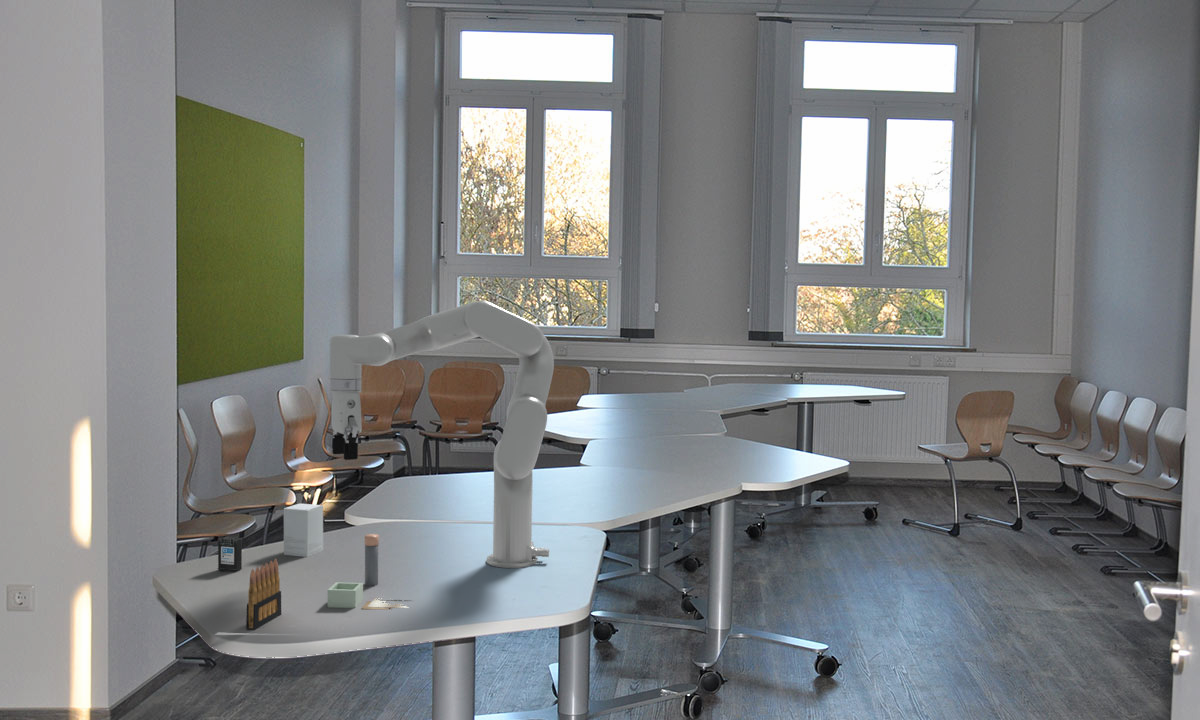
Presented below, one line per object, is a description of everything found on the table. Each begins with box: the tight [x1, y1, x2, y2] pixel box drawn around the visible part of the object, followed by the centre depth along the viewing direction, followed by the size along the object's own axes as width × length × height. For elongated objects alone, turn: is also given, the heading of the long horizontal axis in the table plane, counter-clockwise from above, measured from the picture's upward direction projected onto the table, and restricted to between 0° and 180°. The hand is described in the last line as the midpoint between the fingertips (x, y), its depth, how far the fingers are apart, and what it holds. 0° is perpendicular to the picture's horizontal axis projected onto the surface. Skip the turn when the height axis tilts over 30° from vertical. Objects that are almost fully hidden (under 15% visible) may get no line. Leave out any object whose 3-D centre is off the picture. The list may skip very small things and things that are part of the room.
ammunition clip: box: [245, 558, 282, 631], centre depth 208 cm, size 11×2×12 cm, turn 168°
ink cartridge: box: [217, 536, 243, 573], centre depth 247 cm, size 5×2×8 cm, turn 80°
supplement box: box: [283, 503, 324, 558], centre depth 263 cm, size 7×7×13 cm
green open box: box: [327, 581, 364, 609], centre depth 221 cm, size 6×6×4 cm
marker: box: [364, 533, 380, 587], centre depth 234 cm, size 3×3×12 cm
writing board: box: [361, 598, 413, 610], centre depth 222 cm, size 15×12×1 cm
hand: (344, 456), depth 247 cm, fingers open, 9 cm apart
